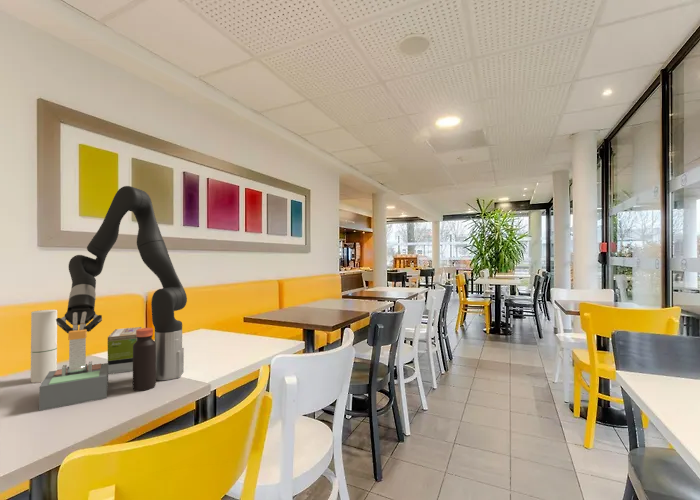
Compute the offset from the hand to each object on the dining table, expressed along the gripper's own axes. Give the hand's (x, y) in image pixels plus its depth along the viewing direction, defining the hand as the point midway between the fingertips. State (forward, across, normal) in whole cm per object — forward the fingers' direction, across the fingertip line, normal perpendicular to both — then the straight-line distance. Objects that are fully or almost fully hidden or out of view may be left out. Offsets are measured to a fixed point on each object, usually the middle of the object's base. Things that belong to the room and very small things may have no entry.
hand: (77, 341), depth 112 cm
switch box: (+13, 0, +11) cm, 17 cm away
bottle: (+16, +19, +8) cm, 26 cm away
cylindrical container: (-4, -12, +29) cm, 32 cm away
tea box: (-4, +13, +29) cm, 32 cm away
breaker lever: (+8, 0, +6) cm, 10 cm away
